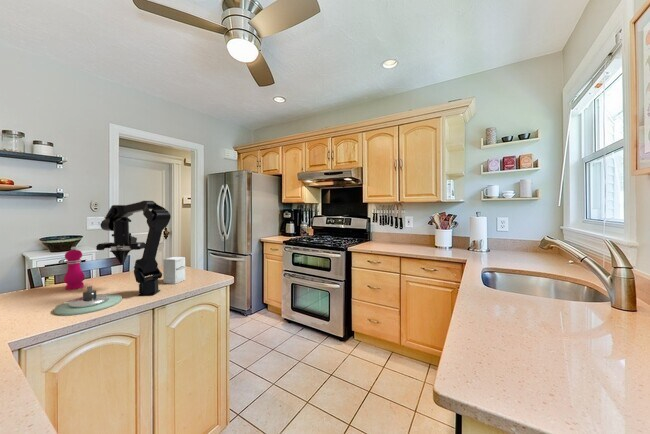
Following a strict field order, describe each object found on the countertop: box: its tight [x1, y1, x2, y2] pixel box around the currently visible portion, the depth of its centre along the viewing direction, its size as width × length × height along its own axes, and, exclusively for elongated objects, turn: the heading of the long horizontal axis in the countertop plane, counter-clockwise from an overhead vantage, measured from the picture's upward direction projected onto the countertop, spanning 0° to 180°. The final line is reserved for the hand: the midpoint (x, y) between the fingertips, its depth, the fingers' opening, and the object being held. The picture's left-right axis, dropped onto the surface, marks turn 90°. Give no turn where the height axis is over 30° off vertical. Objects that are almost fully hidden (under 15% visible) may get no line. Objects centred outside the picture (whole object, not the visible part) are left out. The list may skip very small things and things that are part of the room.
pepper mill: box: [63, 246, 86, 291], centre depth 124 cm, size 7×7×20 cm
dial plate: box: [53, 293, 123, 317], centre depth 103 cm, size 20×20×1 cm
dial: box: [69, 285, 109, 308], centre depth 105 cm, size 16×12×4 cm
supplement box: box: [162, 256, 186, 285], centre depth 135 cm, size 7×7×13 cm
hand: (122, 264), depth 123 cm, fingers closed
